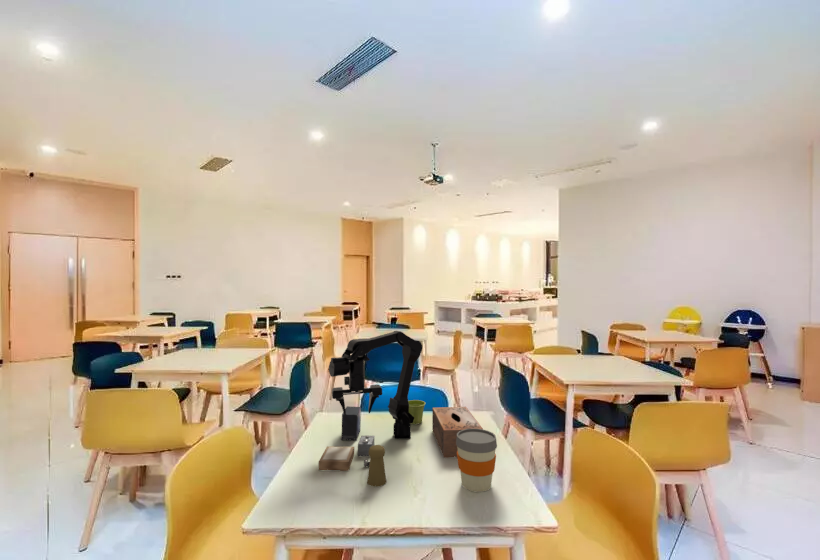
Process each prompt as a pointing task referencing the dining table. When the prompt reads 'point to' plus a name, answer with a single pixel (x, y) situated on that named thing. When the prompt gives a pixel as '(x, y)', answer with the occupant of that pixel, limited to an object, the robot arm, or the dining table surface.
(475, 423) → the tissue box cover
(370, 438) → the housing
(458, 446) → the reusable coffee cup
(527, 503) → the dining table surface
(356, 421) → the small box
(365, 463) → the loose bolt
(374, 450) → the cork
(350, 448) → the picture frame
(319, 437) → the dining table surface
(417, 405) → the plant pot
